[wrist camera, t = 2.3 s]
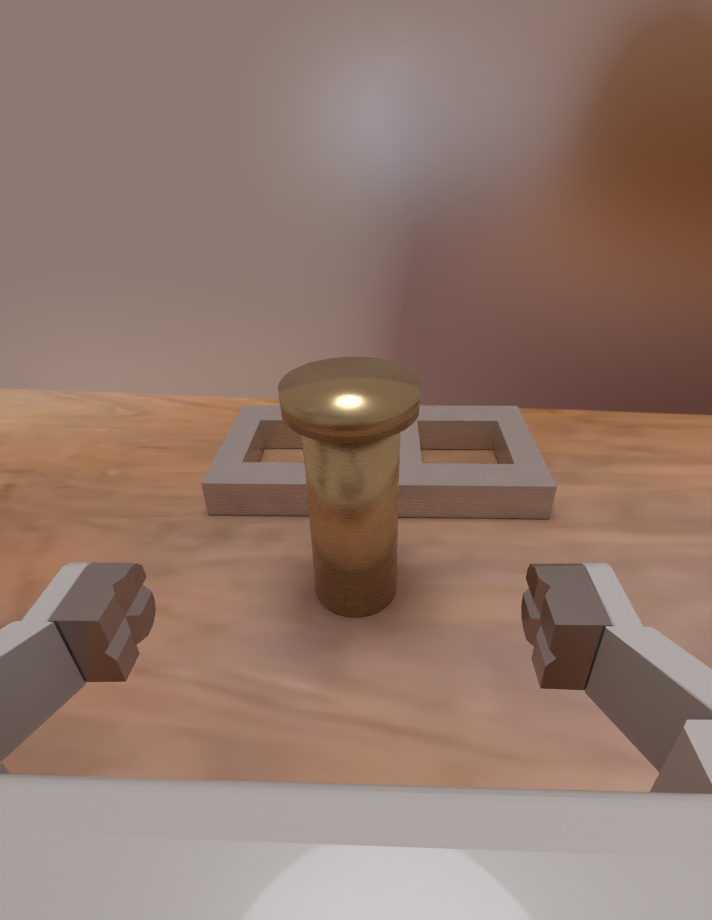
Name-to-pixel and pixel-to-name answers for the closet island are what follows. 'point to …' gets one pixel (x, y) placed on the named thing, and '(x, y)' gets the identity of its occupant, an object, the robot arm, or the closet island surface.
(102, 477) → the closet island surface
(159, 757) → the closet island surface
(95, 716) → the closet island surface
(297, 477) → the plate
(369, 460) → the brass capped peg
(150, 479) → the closet island surface
